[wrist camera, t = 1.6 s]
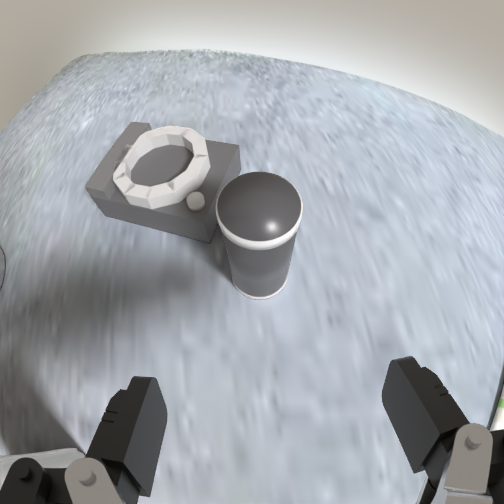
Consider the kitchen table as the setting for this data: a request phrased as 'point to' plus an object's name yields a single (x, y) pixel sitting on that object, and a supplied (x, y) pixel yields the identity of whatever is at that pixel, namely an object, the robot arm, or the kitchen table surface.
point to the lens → (259, 231)
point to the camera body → (165, 179)
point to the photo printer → (42, 460)
